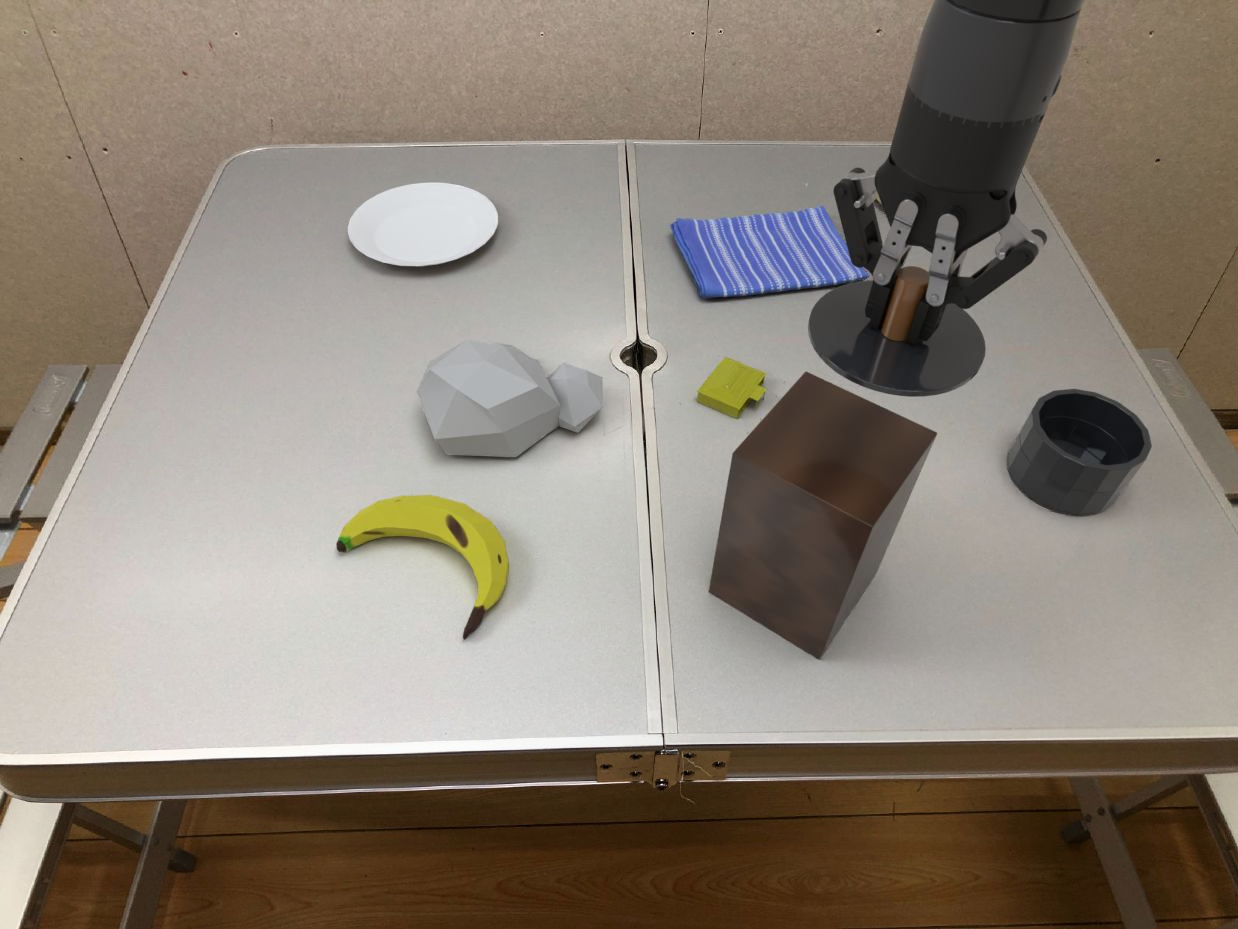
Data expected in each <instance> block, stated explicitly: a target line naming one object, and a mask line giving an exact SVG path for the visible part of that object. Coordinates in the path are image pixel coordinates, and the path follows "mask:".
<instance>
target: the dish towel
mask: <svg viewBox="0 0 1238 929" xmlns="http://www.w3.org/2000/svg"><path fill="white" fill-rule="evenodd" d="M670 229H671V232H672V235H673V237H674V239H675V243H676V245H677V246H678V248H679V250H680V252H681V254H682V257H683V259H684V262H685V263H686V265H687V268H688V270H689V272H690V274H691V277H692V280H693V281H694V283H695V286H696V289H697V291H698V294H699V296H700V297H701V298H703V299H705V300H706V299H714V298H727V297H730V298H731V297H746V296H753V295H754V296H755V295H763V294H767V293H779V292H786V291H795V290H802V289H815V288H816V289H817V288H820V287H828V286H837V285H842V284H843V285H844V284H849V283H854V282H859V281H863V280H866V279H869V278H870V275H869V273H868V271H866V269H865V268H864V267H862V268H858V267H856V266H854V265H853V264H852V262H851V260H850V256H849V252H848V248H847V244H846V240H845V239H844V238H843V237H842V235H841V234H840V233H839V231H838V229H837V228H836V226H835V224H834V222H833V220H832V219H831V217H830V215H829V213H828V212H827V209H826V207H825V206H824V205H819V206H814V207H807V208H804V209H801V210H797V211H796V210H793V211H788V212H773V213H765V214H751V215H739V216H734V217H728V216H726V217H721V218H707V219H696V218H680V217H677V218H676V219H675V221H673V222H671V223H670Z"/></svg>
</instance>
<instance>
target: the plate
mask: <svg viewBox="0 0 1238 929" xmlns="http://www.w3.org/2000/svg"><path fill="white" fill-rule="evenodd" d="M353 212H354V213H353V214H352V216H351V217H350V218H349V221H348V226H347V233H348V237H349V241H350V242H351V244H352V245H353V246H354V247H355V249H356V250H357V251H359V252H360V253H361V254H363V255H364V256H366V257H367V258H370V259H372V260H375V261H377V262H380V263H383V264H388V265H394V266H399V267H426V266H427V267H428V266H433V265H435V266H436V265H441V264H444V263H448V262H452V261H456V260H459V259H461V258H464V257H466V256H468V255H470V254H473V253H474V252H476V251H477V250H479V249H480V248H481V247H483V246H484V245H486V243H488V241H489V240H490V239H491V238H492V237H493V236H494V235H495V232H496V230H497V228H498V225H499V213H498V210H497V208H496V206H495V204H494V203H493V202H492V201H491V200H490V199H489V198H488V197H487V196H486V195H484V194H483V193H481V192H479V191H477V190H476V189H473V188H470V187H466V186H463V185H460V184H454V183H448V182H430V181H429V182H417V183H409V184H404V185H401V186H397V187H393V188H390V189H387V190H384V191H382V192H380V193H377V194H376V195H374V196H372V197H370V198H369V199H367V200H366V201H364V202H363V203H362V204H361V205H360V206H359V207H357V208H356V209H355V211H353Z"/></svg>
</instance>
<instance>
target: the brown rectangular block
mask: <svg viewBox="0 0 1238 929" xmlns="http://www.w3.org/2000/svg"><path fill="white" fill-rule="evenodd" d="M937 436H938V432H936V431H935V430H933V429H930V428H928V427H926V426H924V425H921V423H918V422H916V421H913V420H911V419H909V418H907V417H905V416H902V415H901V414H899V413H897V412H893V411H892V410H889V409H887V408H885V407H883V406H881V405H879V404H878V403H875V402H873V401H870V400H868V399H866V398H864V397H862V396H860V395H857V394H856V393H853V392H851V391H849V390H847V389H844V388H842V387H841V386H838V385H836V384H834V383H832V382H830V381H828V380H825V379H823V378H821V377H819V376H817V375H815V374H813V373H810V372H808V371H804V372H803V374H802V375H801V376H800V377H799V378H798V379H797V380H796V381H795V382H794V384H793V385H792V386H790V388H789V389H788V391H786V393H784V395H783V396H782V397H781V398H780V399H779V400H778V401H777V403H776V404H775V405H774V406H773V407H772V408H771V409H770V410H769V412H768V413H767V414H766V415H765V416H764V417H763V419H761V420H760V422H759V423H758V424H757V425H756V426H755V427H754V429H753V430H752V431H750V433H748V435H747V436H746V437H745V439H744V440H743V441H742V442H741V443H740V444H739V445H738V446H737V447H736V448H735V449H734V451H733V452H732V453H731V454H732V455H731V459H730V466H729V471H728V477H727V483H726V489H725V494H724V500H723V507H722V512H721V518H720V524H719V530H718V535H717V541H716V546H715V553H714V558H713V564H712V570H711V575H710V580H709V581H710V582H709V588H708V593H709V594H711V595H713V596H714V597H716V598H718V599H719V600H721V601H722V602H724V603H726V604H728V605H729V606H731V607H732V608H734V609H735V610H737V611H739V612H740V613H742V614H744V615H745V616H747V617H748V618H750V619H752V620H753V621H755V622H757V623H758V624H759V625H762V626H763V627H764V628H766V629H768V630H770V631H772V632H773V633H775V634H776V635H778V636H780V637H781V638H783V639H785V640H786V641H788V642H789V643H790V644H792V645H794V646H796V647H797V648H799V649H800V650H802V651H804V652H806V653H807V654H809V655H810V656H812V657H814V659H815V658H816V659H817V660H821V659H822V657H823V656H824V654H825V653H826V652H827V650H828V649H829V647H830V645H831V643H832V642H833V640H834V639H835V638H836V636H837V635H838V633H839V632H840V629H841V628H842V627H843V625H844V624H845V622H846V621H847V619H848V617H849V616H850V615H851V613H852V611H853V610H854V608H855V607H856V605H858V604H857V603H858V602H859V601H860V600H861V598H862V596H863V595H864V593H865V592H866V590H867V588H868V587H869V585H870V584H871V582H872V581H873V580H874V578H875V576H876V574H877V572H878V571H879V569H880V566H881V564H882V561H883V560H884V557H885V555H886V553H887V550H888V548H889V545H890V543H891V542H892V539H893V537H894V534H895V532H896V530H897V527H898V525H899V523H900V520H901V519H902V516H903V513H904V511H905V509H906V507H907V504H908V503H909V500H910V497H911V495H912V493H913V491H914V488H915V487H916V484H917V482H918V479H919V477H920V475H921V472H922V470H923V468H924V465H925V463H926V461H927V459H928V456H929V454H930V451H931V449H932V447H933V445H934V442H935V440H936V438H937Z"/></svg>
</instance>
